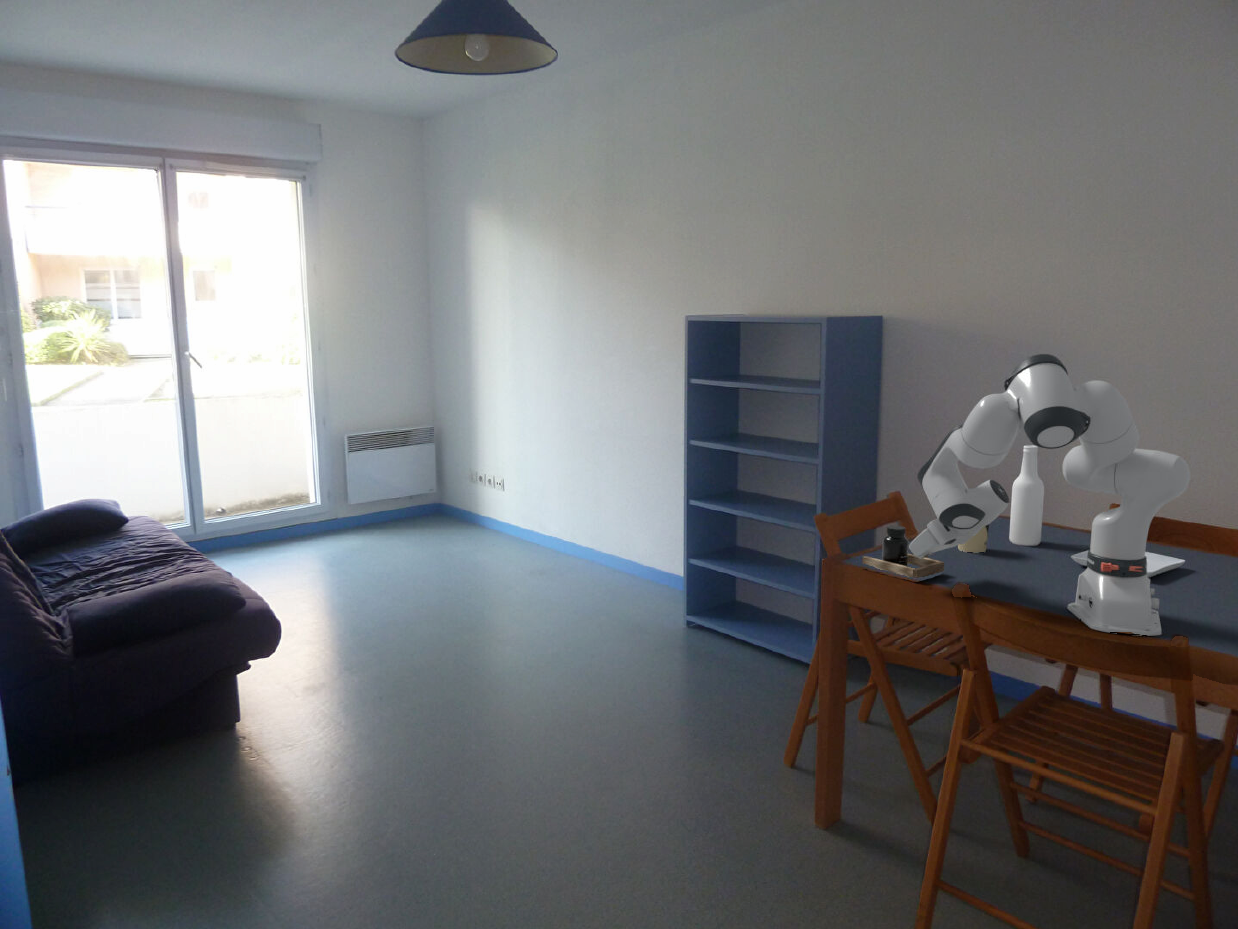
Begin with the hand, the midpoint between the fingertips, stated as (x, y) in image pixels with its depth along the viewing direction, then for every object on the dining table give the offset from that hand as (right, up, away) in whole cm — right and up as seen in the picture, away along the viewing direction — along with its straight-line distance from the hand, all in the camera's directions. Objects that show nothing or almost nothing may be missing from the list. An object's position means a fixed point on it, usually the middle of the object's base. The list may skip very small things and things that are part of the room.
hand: (921, 556), depth 232 cm
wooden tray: (-3, -5, +6) cm, 8 cm away
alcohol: (+44, 0, +34) cm, 56 cm away
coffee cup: (+25, -1, +27) cm, 37 cm away
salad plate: (+59, -5, +7) cm, 60 cm away
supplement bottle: (-5, -5, +8) cm, 10 cm away
